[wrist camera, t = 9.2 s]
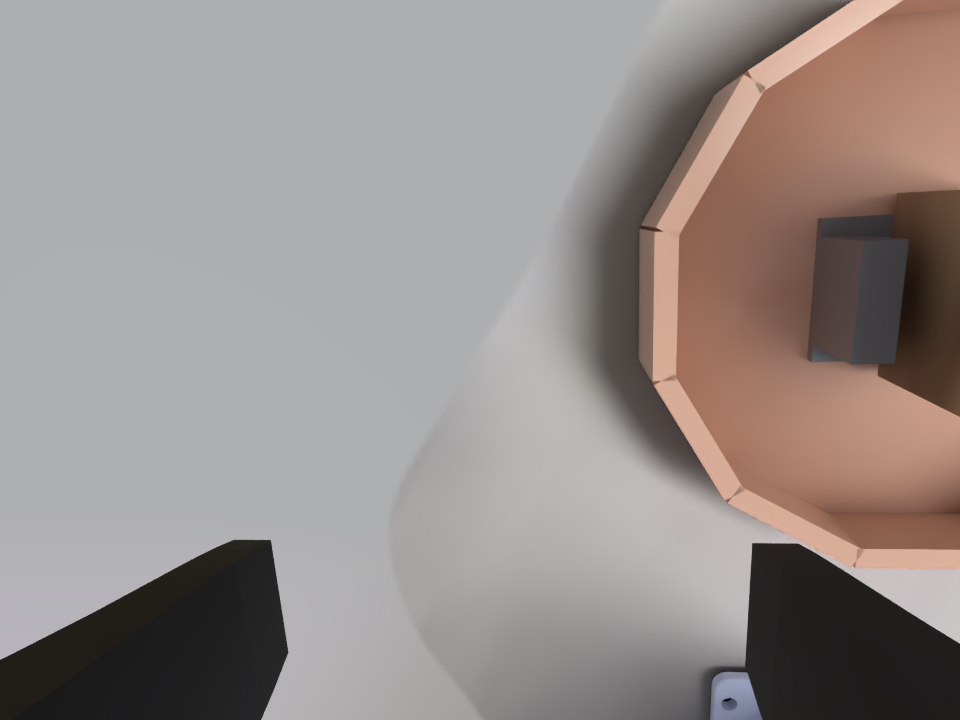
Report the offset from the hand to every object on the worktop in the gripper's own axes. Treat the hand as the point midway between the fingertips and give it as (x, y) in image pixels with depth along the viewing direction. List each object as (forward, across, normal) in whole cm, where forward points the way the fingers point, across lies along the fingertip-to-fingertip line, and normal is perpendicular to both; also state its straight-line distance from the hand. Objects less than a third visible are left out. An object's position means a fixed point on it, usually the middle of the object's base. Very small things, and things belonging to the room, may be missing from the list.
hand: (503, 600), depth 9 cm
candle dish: (+10, -11, -3) cm, 15 cm away
